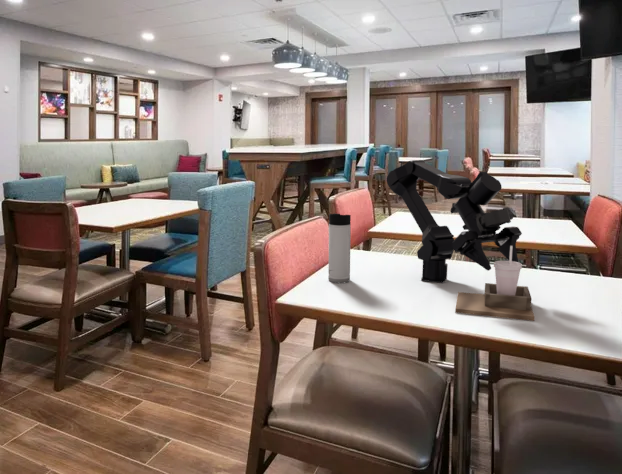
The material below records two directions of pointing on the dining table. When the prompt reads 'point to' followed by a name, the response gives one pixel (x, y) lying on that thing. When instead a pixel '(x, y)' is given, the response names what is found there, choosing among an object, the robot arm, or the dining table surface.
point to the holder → (497, 303)
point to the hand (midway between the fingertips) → (503, 267)
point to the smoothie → (507, 275)
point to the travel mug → (339, 248)
